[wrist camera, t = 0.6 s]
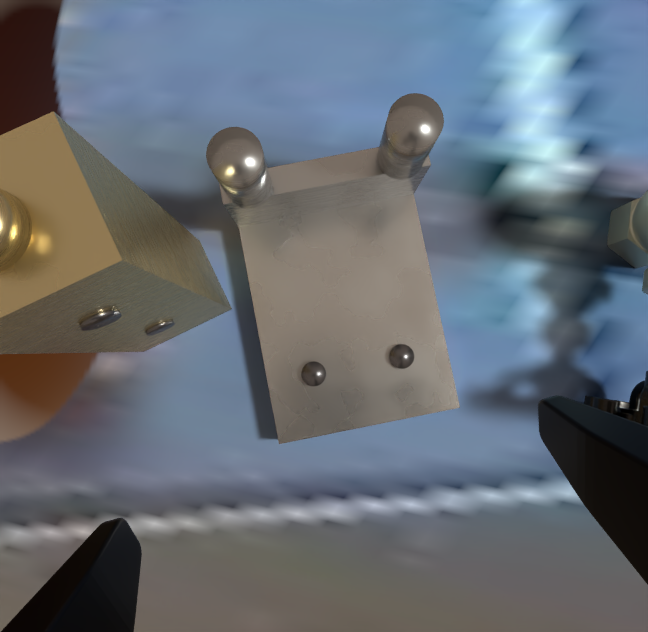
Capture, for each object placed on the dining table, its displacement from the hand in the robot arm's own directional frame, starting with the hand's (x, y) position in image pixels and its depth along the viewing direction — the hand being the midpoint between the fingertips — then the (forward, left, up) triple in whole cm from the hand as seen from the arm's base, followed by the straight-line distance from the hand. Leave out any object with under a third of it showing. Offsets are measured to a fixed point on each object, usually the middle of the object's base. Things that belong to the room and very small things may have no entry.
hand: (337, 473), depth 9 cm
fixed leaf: (+5, 0, -13) cm, 14 cm away
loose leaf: (+5, +9, -13) cm, 16 cm away
